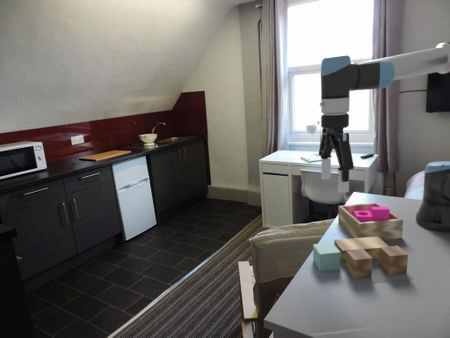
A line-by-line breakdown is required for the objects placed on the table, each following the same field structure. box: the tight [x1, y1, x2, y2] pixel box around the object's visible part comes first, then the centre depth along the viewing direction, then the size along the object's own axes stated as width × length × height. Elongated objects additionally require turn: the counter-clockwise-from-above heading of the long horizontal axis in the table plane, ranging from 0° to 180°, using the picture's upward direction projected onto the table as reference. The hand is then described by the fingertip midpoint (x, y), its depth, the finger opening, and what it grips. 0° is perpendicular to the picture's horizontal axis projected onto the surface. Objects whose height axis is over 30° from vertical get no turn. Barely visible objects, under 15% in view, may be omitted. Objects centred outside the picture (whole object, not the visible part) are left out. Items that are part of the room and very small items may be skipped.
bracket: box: [353, 206, 390, 222], centre depth 116 cm, size 12×10×10 cm
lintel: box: [333, 237, 390, 265], centre depth 100 cm, size 14×7×5 cm, turn 91°
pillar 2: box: [380, 245, 409, 276], centre depth 91 cm, size 5×5×6 cm
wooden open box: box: [337, 201, 404, 241], centre depth 116 cm, size 15×17×7 cm
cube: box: [312, 242, 341, 272], centre depth 96 cm, size 6×6×6 cm
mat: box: [340, 261, 415, 286], centre depth 91 cm, size 16×10×1 cm, turn 93°
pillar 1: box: [345, 249, 373, 279], centre depth 90 cm, size 5×5×6 cm
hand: (334, 185), depth 96 cm, fingers open, 13 cm apart
